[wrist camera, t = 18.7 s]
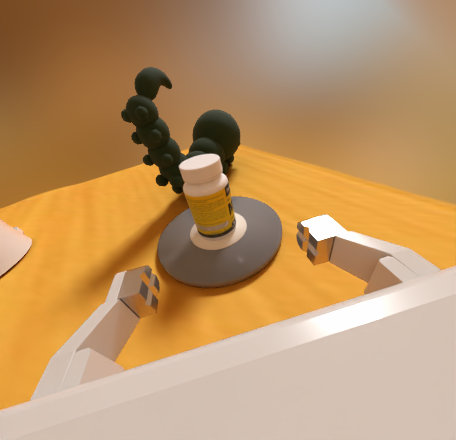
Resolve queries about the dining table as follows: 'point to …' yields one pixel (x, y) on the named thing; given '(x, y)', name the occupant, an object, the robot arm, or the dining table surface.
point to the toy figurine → (160, 137)
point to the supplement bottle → (208, 196)
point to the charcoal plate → (221, 247)
